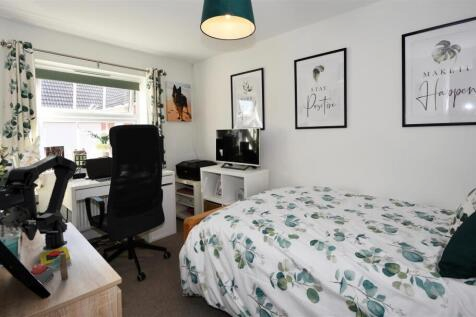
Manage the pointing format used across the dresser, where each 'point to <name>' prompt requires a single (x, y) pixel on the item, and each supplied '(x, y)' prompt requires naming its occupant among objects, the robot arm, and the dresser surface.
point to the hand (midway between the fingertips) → (31, 240)
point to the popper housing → (45, 275)
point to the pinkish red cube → (39, 269)
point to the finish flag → (61, 265)
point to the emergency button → (54, 257)
